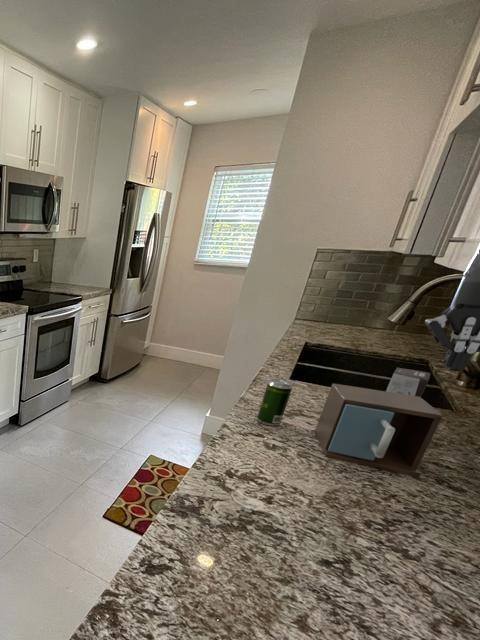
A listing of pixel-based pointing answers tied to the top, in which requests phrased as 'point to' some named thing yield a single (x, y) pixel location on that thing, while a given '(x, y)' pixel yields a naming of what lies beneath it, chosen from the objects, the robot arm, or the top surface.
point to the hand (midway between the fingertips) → (452, 369)
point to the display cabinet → (409, 422)
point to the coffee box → (408, 382)
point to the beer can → (274, 402)
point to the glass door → (363, 432)
